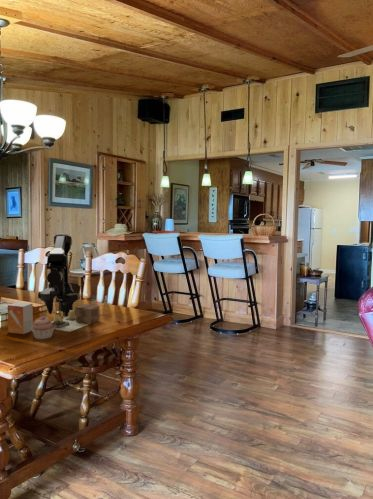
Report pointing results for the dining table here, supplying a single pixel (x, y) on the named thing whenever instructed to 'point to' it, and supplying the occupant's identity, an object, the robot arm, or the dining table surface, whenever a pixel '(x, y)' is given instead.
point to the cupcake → (43, 328)
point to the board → (70, 323)
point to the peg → (58, 317)
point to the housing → (87, 313)
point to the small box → (20, 318)
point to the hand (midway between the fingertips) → (58, 315)
